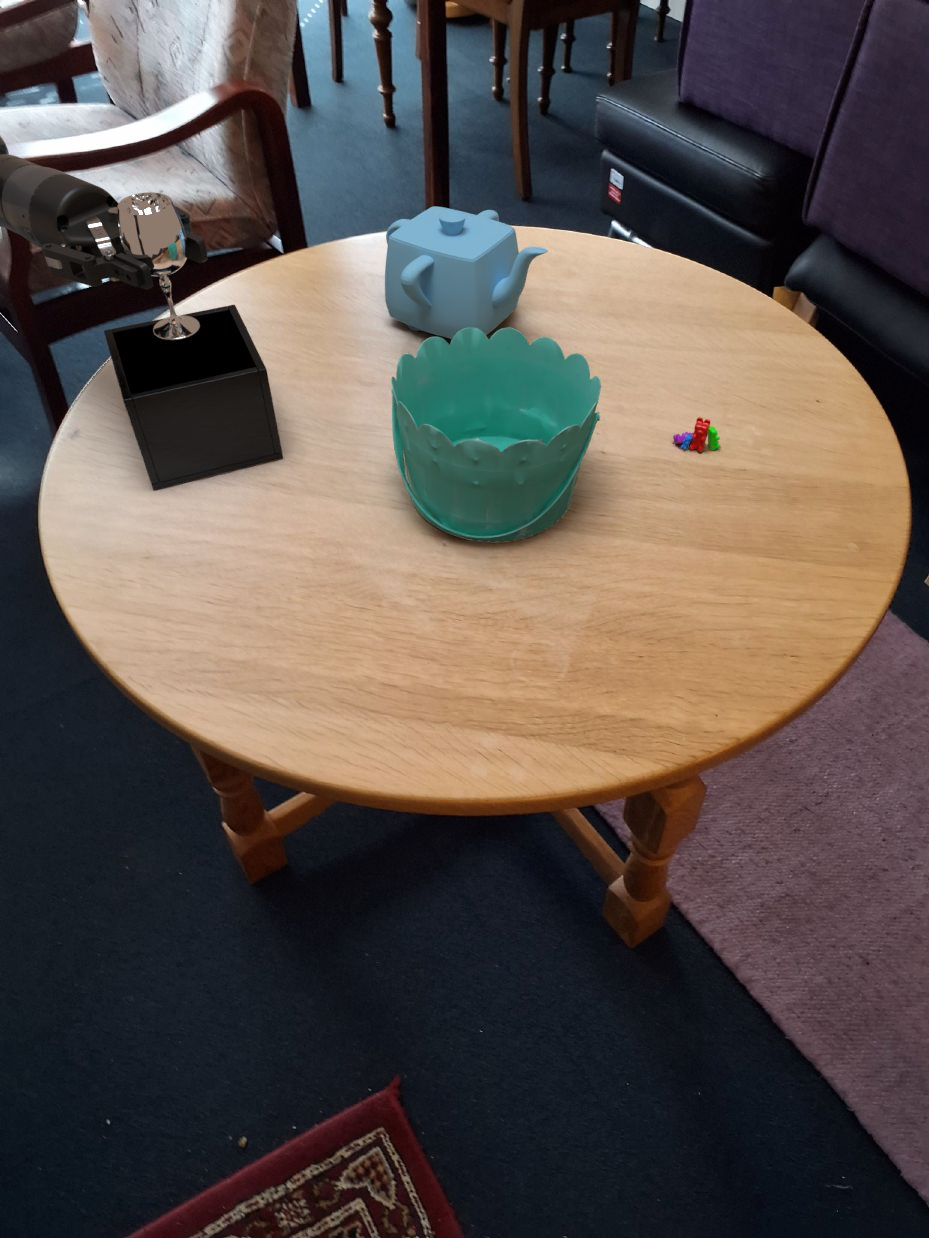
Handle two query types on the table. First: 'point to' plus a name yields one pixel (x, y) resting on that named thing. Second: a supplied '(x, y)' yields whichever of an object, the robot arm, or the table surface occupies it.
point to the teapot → (454, 271)
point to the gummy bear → (699, 436)
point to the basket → (492, 432)
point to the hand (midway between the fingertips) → (176, 264)
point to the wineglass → (157, 250)
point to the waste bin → (196, 398)
